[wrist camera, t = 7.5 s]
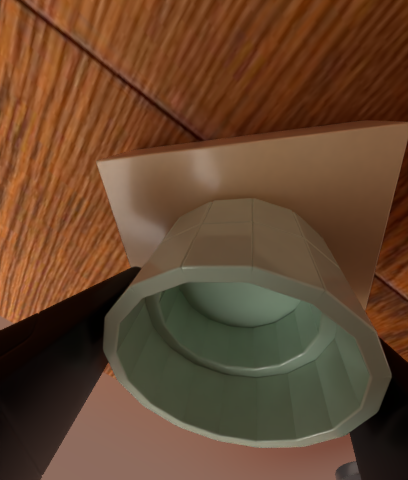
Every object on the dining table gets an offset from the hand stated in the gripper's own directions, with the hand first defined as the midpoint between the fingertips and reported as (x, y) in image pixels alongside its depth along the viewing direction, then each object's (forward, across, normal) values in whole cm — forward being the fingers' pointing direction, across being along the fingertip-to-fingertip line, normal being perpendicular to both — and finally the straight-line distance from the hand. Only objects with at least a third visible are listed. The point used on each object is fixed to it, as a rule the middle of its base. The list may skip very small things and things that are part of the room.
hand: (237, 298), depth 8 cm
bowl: (+2, 0, 0) cm, 2 cm away
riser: (+4, 0, 0) cm, 5 cm away
